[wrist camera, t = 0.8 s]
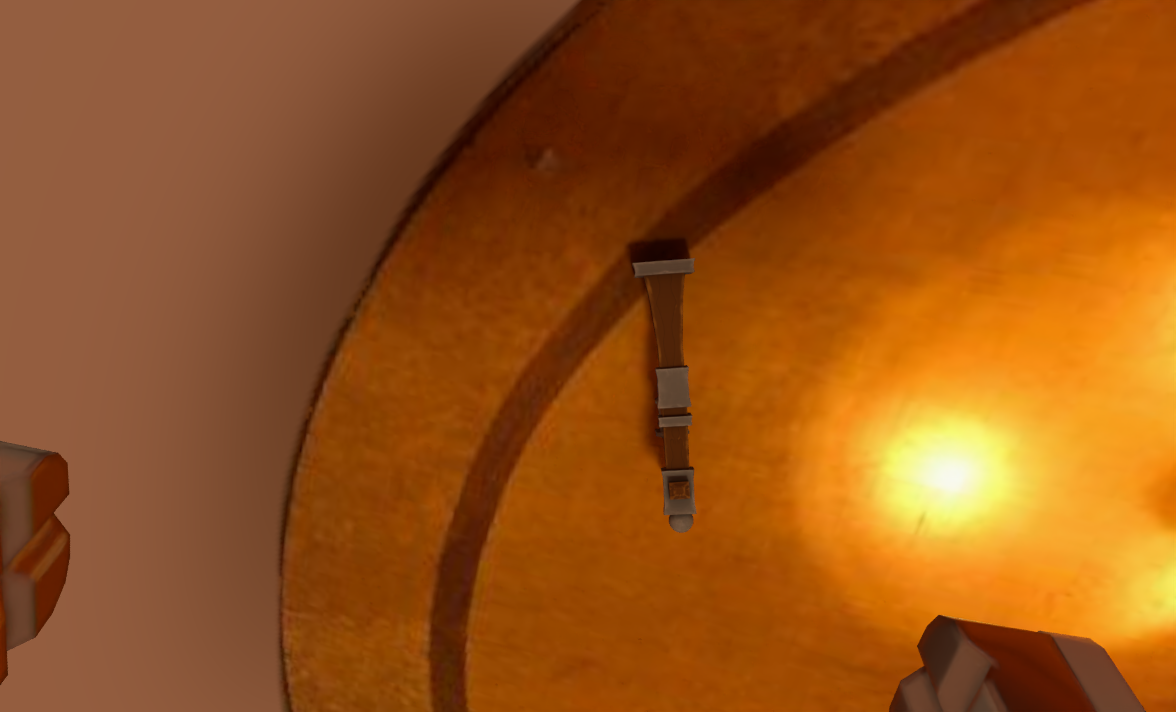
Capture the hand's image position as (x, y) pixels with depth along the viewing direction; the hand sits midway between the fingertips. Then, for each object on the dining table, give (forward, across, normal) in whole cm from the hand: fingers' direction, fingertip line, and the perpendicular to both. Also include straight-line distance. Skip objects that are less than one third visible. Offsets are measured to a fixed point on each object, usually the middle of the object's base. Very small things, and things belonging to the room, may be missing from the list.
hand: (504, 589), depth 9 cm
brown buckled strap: (+21, -5, +7) cm, 23 cm away
